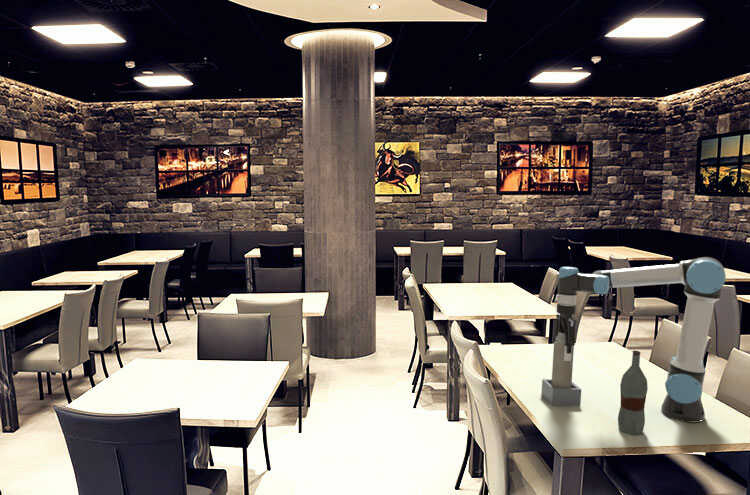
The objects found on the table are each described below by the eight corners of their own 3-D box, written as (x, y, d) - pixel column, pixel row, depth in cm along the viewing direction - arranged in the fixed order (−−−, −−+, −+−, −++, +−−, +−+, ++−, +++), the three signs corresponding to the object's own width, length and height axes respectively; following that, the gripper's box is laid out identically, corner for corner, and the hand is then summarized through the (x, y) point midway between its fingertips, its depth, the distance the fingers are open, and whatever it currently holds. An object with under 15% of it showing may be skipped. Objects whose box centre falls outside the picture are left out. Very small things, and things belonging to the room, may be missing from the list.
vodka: (616, 423, 208) (622, 346, 205) (643, 427, 205) (649, 349, 202) (617, 432, 199) (623, 353, 196) (645, 437, 196) (651, 356, 193)
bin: (580, 405, 224) (581, 389, 224) (551, 405, 224) (552, 389, 223) (568, 395, 236) (569, 379, 236) (541, 394, 236) (542, 379, 235)
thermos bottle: (548, 391, 234) (551, 327, 231) (566, 391, 234) (570, 327, 231) (555, 398, 226) (558, 332, 223) (573, 398, 226) (578, 332, 223)
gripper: (548, 299, 236) (545, 350, 238) (567, 309, 215) (564, 365, 217) (565, 299, 236) (562, 350, 239) (586, 309, 216) (582, 365, 218)
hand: (563, 357), depth 228 cm, fingers closed on thermos bottle, 8 cm apart
